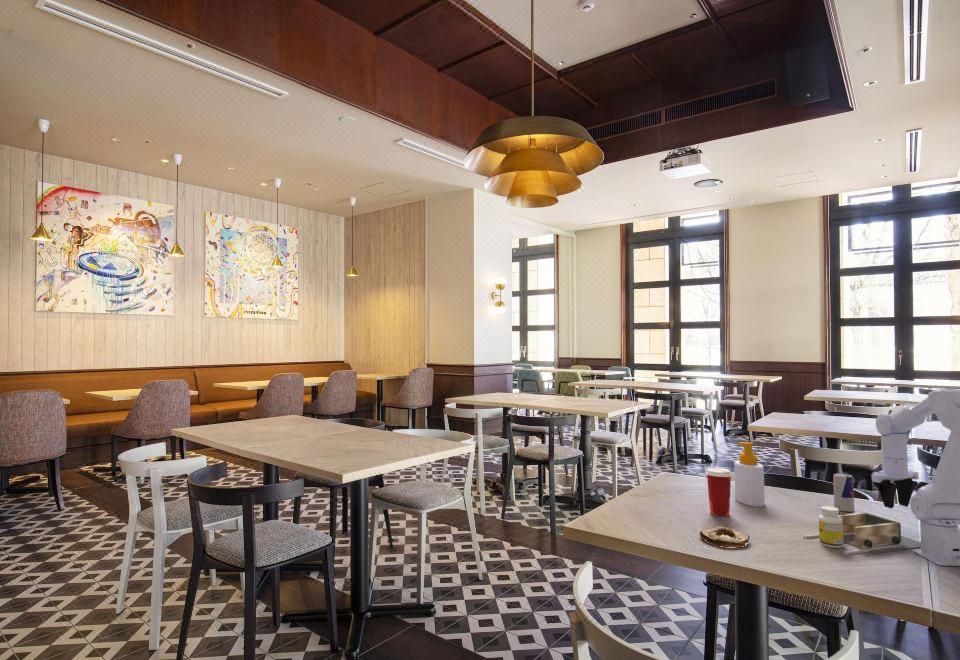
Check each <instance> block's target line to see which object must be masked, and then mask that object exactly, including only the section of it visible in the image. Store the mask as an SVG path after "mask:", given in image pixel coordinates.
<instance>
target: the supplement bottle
mask: <svg viewBox="0 0 960 660" xmlns="http://www.w3.org/2000/svg"><path fill="white" fill-rule="evenodd" d="M820 509H821V514H820V515H819V516H818V531H819V533H818V534H819V537H818V538H819V543H820V545H821V546H824V547H827V548H831V549H841V548H843V547H844V542H843V524H842V519H841V518H840V517H839V516H838V515H840V514H839V509H838V508H835V507H834V506H828V505H827V506H825V505H823V506H821V507H820Z"/></svg>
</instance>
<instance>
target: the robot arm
mask: <svg viewBox="0 0 960 660" xmlns="http://www.w3.org/2000/svg"><path fill="white" fill-rule="evenodd" d="M933 414H934V415H935V416H936V417H937V419H938V420H939V422H940V423H941V425H942V427H944V428H946V429H948V430H949V431H950V434H949V436H948V438H947V440H946V443H945V446H944V449H943V451H942V454H941V457H940V458H939V462H938V464H937V467H936V470H935V471H934V474H933V477H932V479H931V482H930V483H928V484H926V485H923V486H921V487H919V488H918V489H917V491H916V493H915V494H914V495H913V493H914V491H915V489H916V488H917V486H919V483H918V481H917V480H919V472H918V471H914V470H909V467H908V465H909V464H908V442H909V441H910V434H911V432H912V429H915V428H917V427H918V426H921V425H923V424H924V423H925V422H926V420H927V417H929V416H931V415H933ZM875 428H876V431H877V432H878V433H879V434H880V439H881V441H880V442H881V468H882V469H881V470H879V471H878V472H877V473H872V474H871V481H872V482H873V484H874V486H875V487H876V489H877V490H878V492H879V494H880V497H881V500H882V502H883V506H884V507H886V508H888V509H894V507H895V496H896V493H897V501H898V505H899V506H902V507H906V508H908V507H909V506H910V509H911V512H912V514H913V515H914V516H915V518H916V520H918V521H919V527H920V528H919V529H920V532H919V533H920V542H921V548H920V549H912V552H913V553H915V554H917V555H919V556H921V557H923V558H924V559H926V560H928V561H930V562H932V563H934V564H936V565H937V566H946V567H947V566H948V567H949V566H954V567H955V566H956V567H957V566H958V567H960V528H959V526H960V388H950V389H949V388H945V389H944V388H935V389H933V390H932V391H929V392H928V394H927V397H926V398H925V397H924V399H923V400H921V401H918V403H916V404H911V403H903V404H902V405H901V407H900V408H897V410H895V409H894V410H892V411H891V413H889V414H885V413H879V415H878V416H877V417H876V418H875ZM892 481H893V482H892ZM912 495H913V496H912Z"/></svg>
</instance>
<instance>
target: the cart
mask: <svg viewBox="0 0 960 660" xmlns="http://www.w3.org/2000/svg"><path fill="white" fill-rule="evenodd" d="M838 516H839V517H840V518H841V519H842V524H843V534H846V533H854V543H855V546H854V547H856V548H858V547H864V546H867V547H872V545H880V544H888V543H896V544H899V543H900V542H901V536H902V532H901V531H902V530H901V528H902V526H901V522H898V521H896V520H892V519H889V518H885V517H882V516H879V515H875V514H873V513H868V512H857V513H856V512H854V514H845V515H843V514H839V515H838Z"/></svg>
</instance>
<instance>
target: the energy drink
mask: <svg viewBox="0 0 960 660" xmlns="http://www.w3.org/2000/svg"><path fill="white" fill-rule="evenodd" d="M832 477H833V479H832V480H833V503H834V504H833V507H835V508H838V509H839V513H840V514H839V515H843V514H844V515H845V514H855V489H854V488H855V487H854V478H853V475H851V474H848V473H841V472H840V473H839V472H837V473H834V474H833V476H832Z"/></svg>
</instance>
